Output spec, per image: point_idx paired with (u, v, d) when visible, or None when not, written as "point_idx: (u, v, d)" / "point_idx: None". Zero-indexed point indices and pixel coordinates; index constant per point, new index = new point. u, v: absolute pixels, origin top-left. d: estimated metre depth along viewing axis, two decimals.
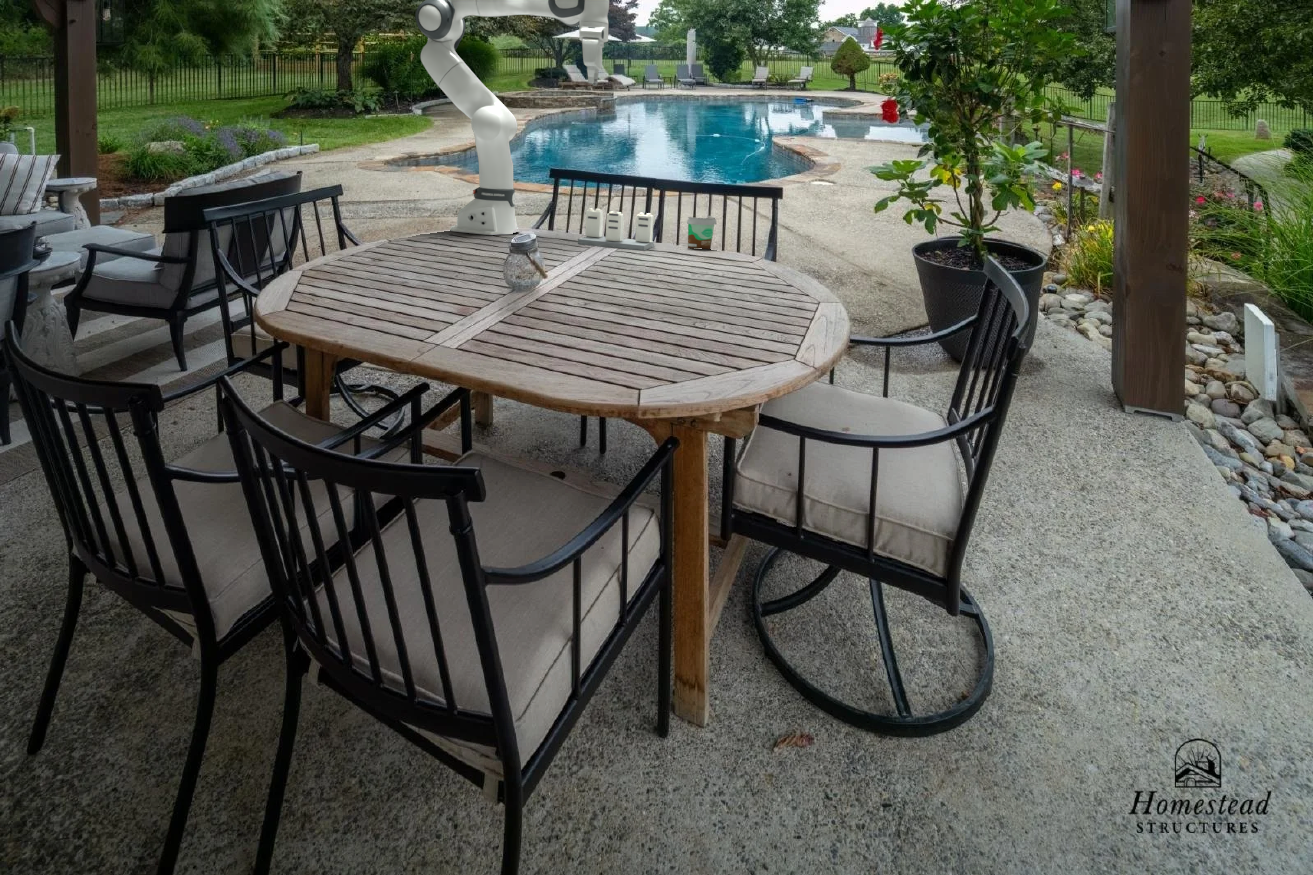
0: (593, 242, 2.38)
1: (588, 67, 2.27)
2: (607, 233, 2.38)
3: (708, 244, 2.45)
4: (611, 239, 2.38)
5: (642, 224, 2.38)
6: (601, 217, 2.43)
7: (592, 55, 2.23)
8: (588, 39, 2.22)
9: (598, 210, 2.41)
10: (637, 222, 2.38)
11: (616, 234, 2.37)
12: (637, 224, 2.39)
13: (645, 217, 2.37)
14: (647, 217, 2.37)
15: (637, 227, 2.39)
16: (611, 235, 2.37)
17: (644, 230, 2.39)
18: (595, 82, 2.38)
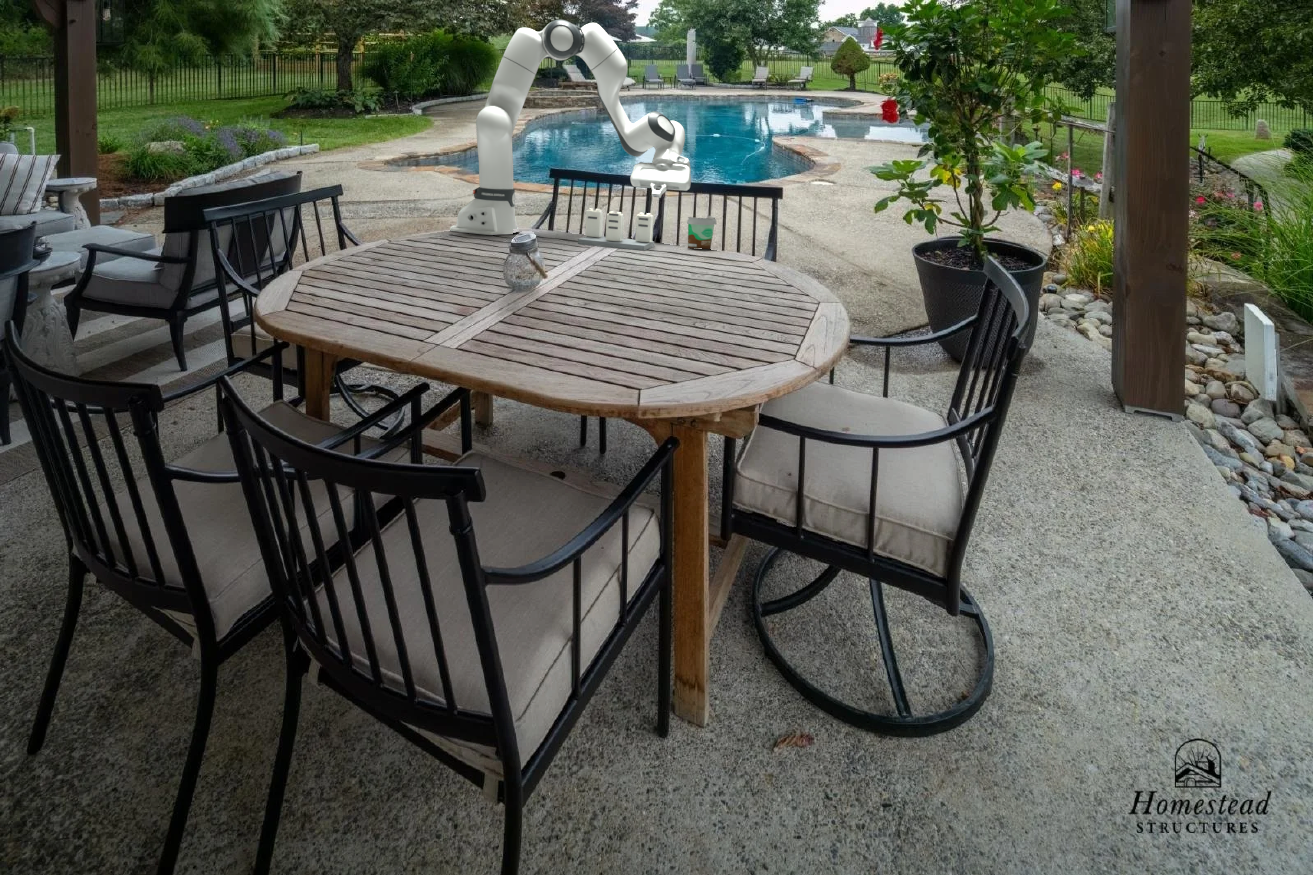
0: (593, 242, 2.38)
1: (666, 185, 2.48)
2: (607, 233, 2.38)
3: (708, 244, 2.45)
4: (611, 239, 2.38)
5: (642, 224, 2.38)
6: (601, 217, 2.43)
7: (690, 183, 2.49)
8: None
9: (598, 210, 2.41)
10: (637, 222, 2.38)
11: (616, 234, 2.37)
12: (637, 224, 2.39)
13: (645, 217, 2.37)
14: (647, 217, 2.37)
15: (637, 227, 2.39)
16: (611, 235, 2.37)
17: (644, 230, 2.39)
18: None
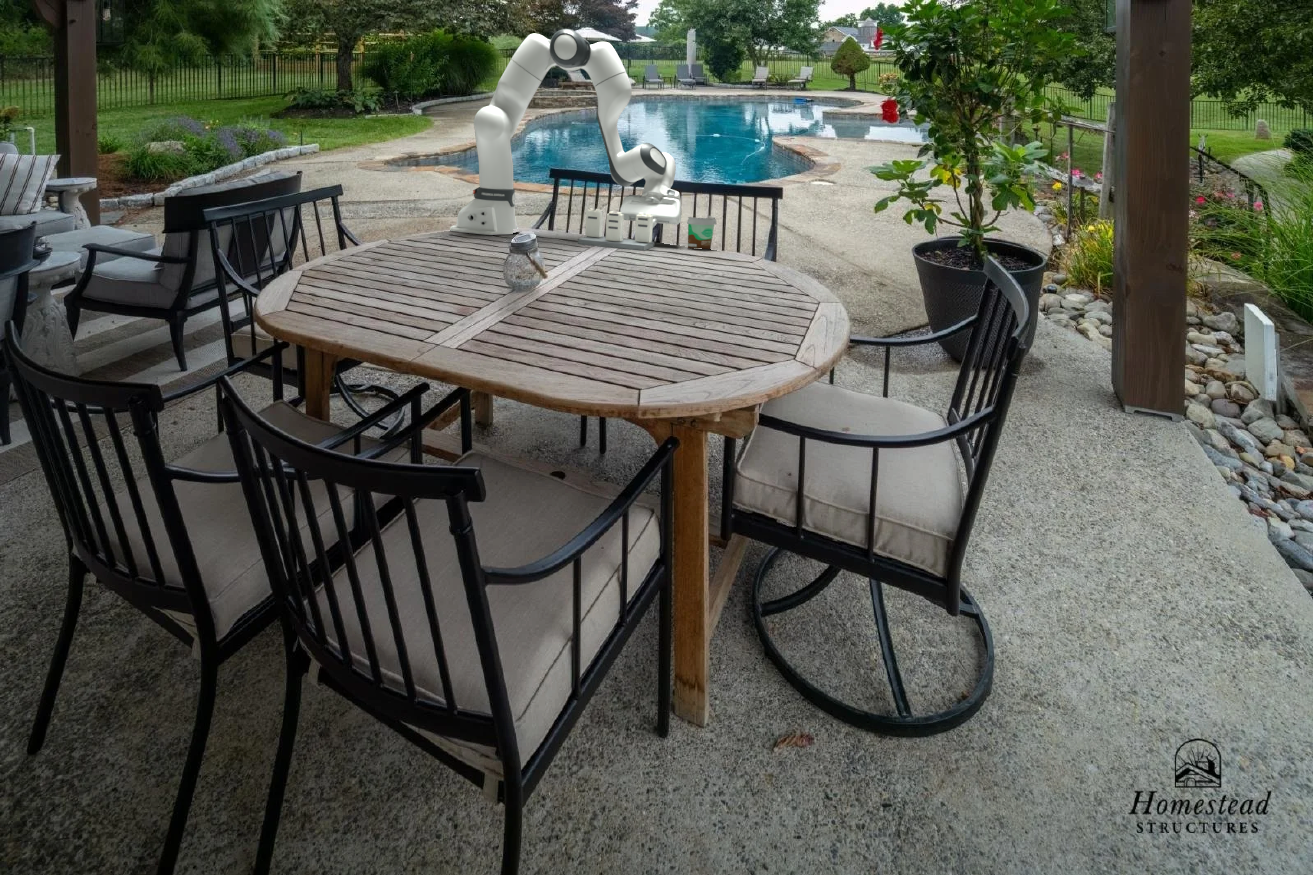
0: (593, 242, 2.38)
1: (655, 219, 2.42)
2: (607, 233, 2.38)
3: (708, 244, 2.45)
4: (611, 239, 2.38)
5: (641, 224, 2.38)
6: (601, 217, 2.43)
7: (680, 217, 2.43)
8: None
9: (598, 210, 2.41)
10: (637, 222, 2.38)
11: (616, 234, 2.37)
12: (637, 224, 2.38)
13: (645, 217, 2.37)
14: (647, 217, 2.37)
15: (636, 227, 2.39)
16: (611, 235, 2.37)
17: (643, 230, 2.38)
18: None
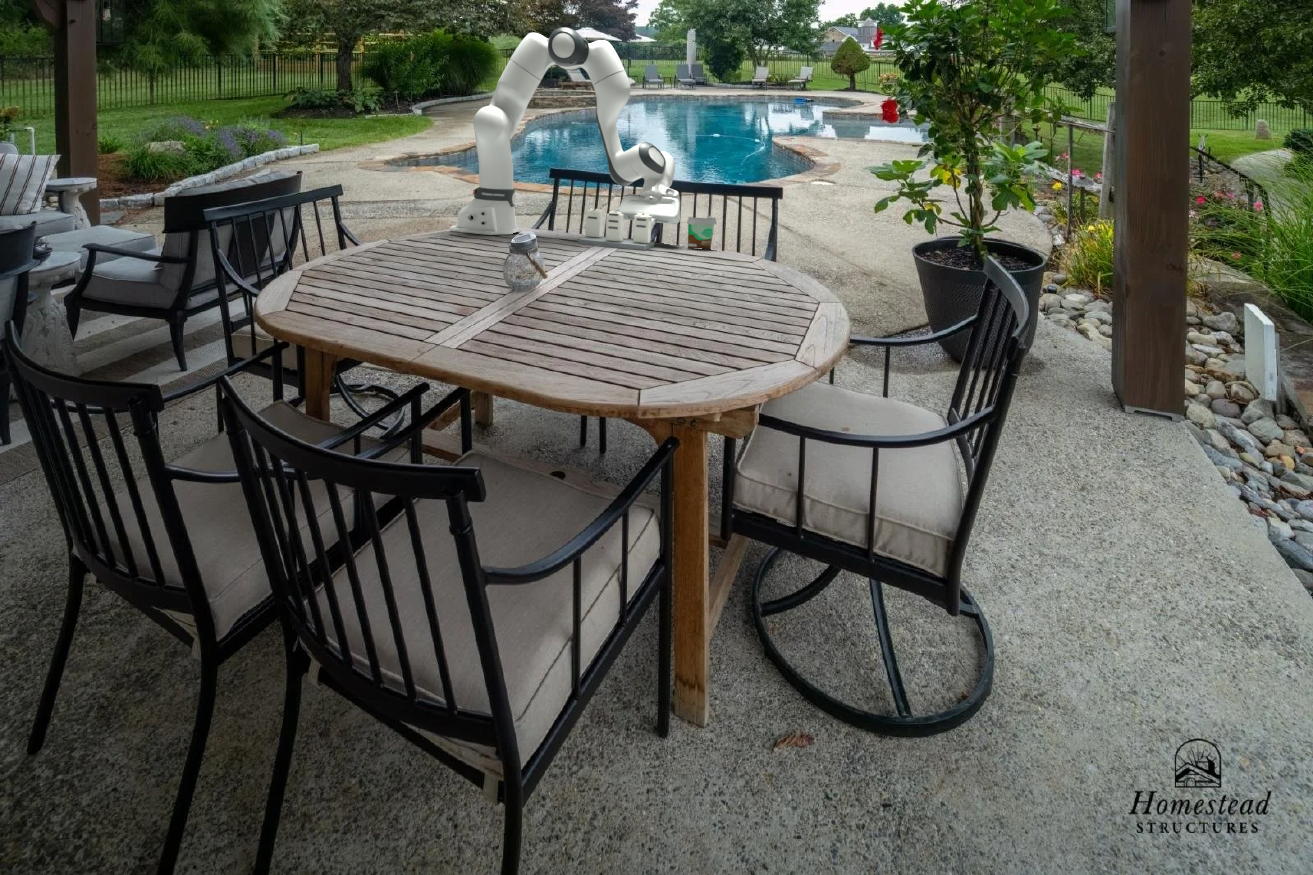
0: (593, 242, 2.38)
1: (654, 218, 2.41)
2: (607, 233, 2.38)
3: (708, 244, 2.45)
4: (611, 239, 2.38)
5: (640, 225, 2.36)
6: (601, 217, 2.43)
7: (679, 216, 2.42)
8: None
9: (598, 210, 2.41)
10: (635, 223, 2.36)
11: (616, 234, 2.37)
12: (635, 225, 2.36)
13: (643, 218, 2.35)
14: (645, 218, 2.35)
15: (635, 228, 2.37)
16: (611, 235, 2.37)
17: (641, 231, 2.37)
18: None
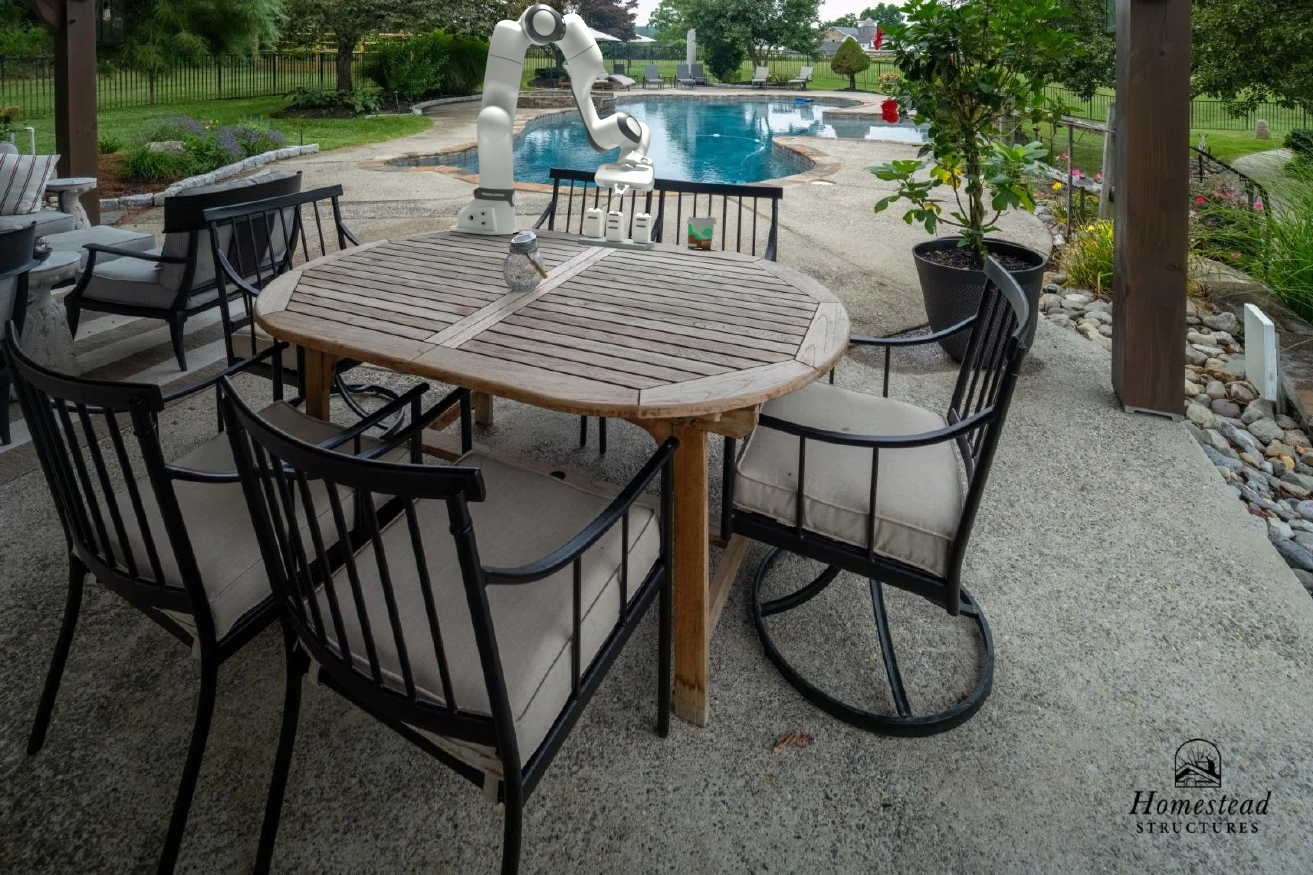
0: (593, 242, 2.38)
1: (629, 185, 2.51)
2: (607, 233, 2.38)
3: (708, 244, 2.45)
4: (611, 239, 2.38)
5: (640, 225, 2.36)
6: (601, 217, 2.43)
7: (653, 184, 2.52)
8: None
9: (598, 210, 2.41)
10: (635, 223, 2.36)
11: (616, 234, 2.37)
12: (635, 225, 2.36)
13: (643, 218, 2.35)
14: (645, 218, 2.35)
15: (635, 228, 2.37)
16: (611, 235, 2.37)
17: (641, 231, 2.37)
18: None
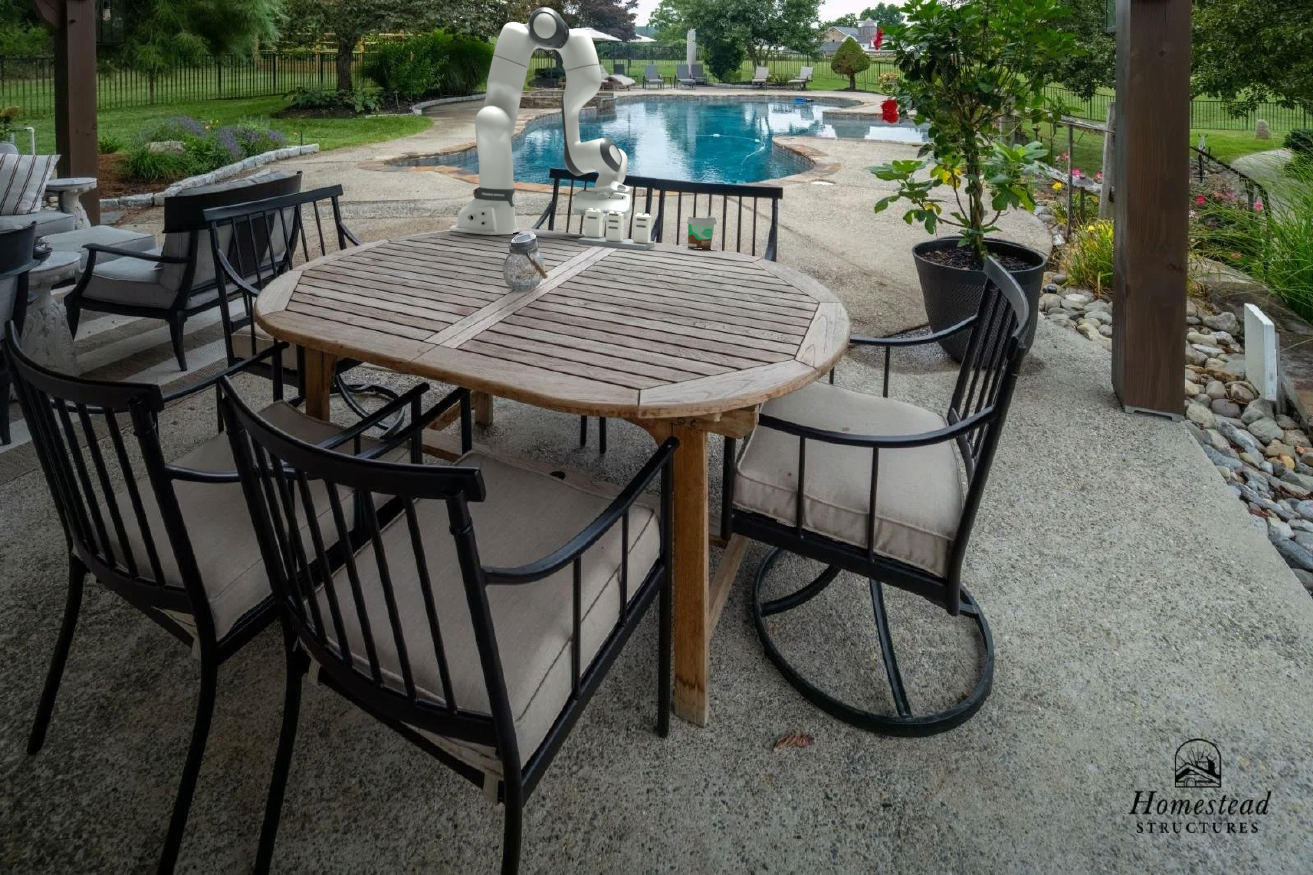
0: (593, 242, 2.38)
1: (606, 214, 2.46)
2: (607, 233, 2.38)
3: (708, 244, 2.45)
4: (611, 239, 2.38)
5: (640, 225, 2.36)
6: (601, 217, 2.42)
7: (631, 211, 2.47)
8: None
9: (598, 210, 2.41)
10: (635, 223, 2.36)
11: (616, 234, 2.37)
12: (635, 225, 2.36)
13: (643, 218, 2.35)
14: (645, 218, 2.35)
15: (635, 228, 2.37)
16: (611, 235, 2.37)
17: (641, 231, 2.37)
18: None
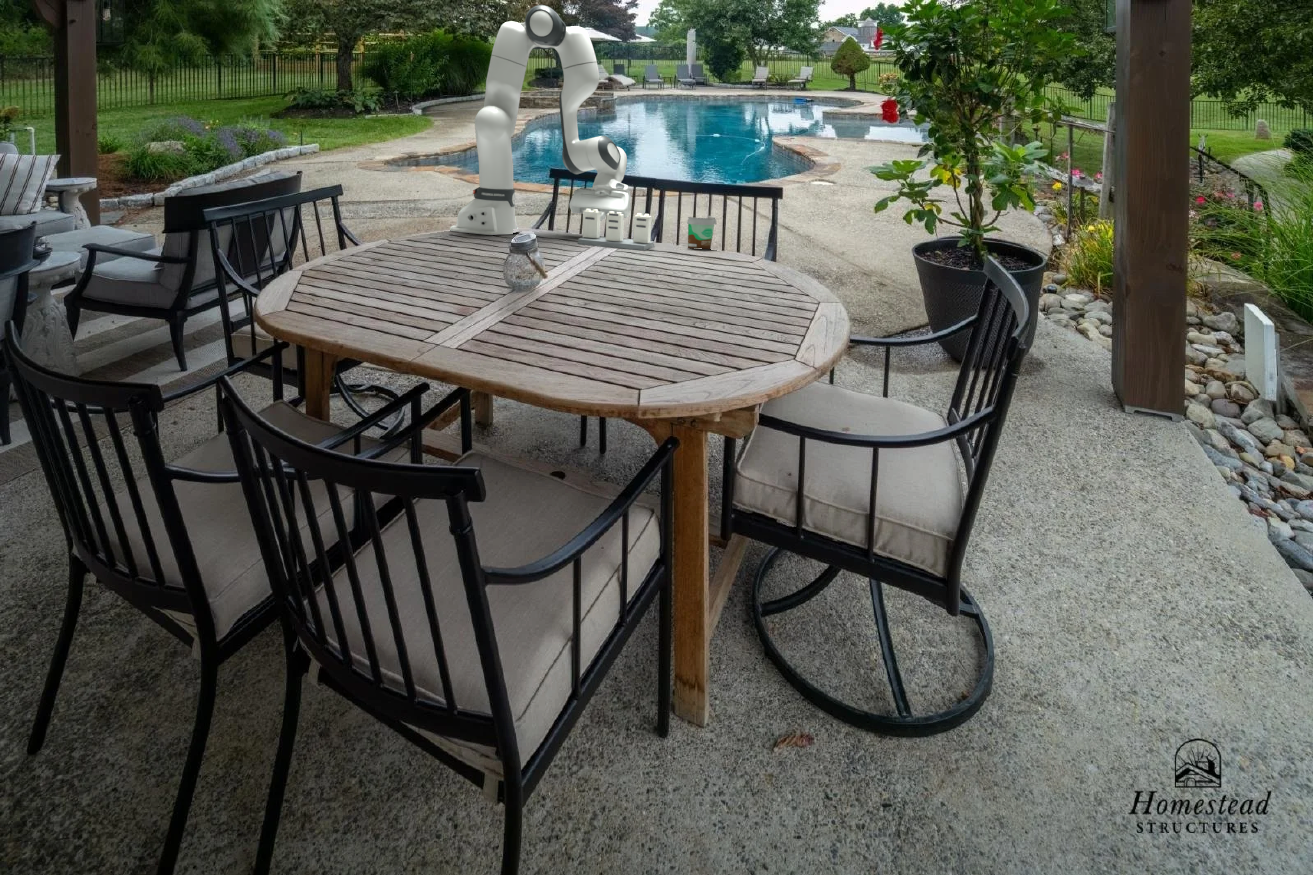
0: (593, 242, 2.38)
1: (604, 212, 2.45)
2: (607, 233, 2.38)
3: (708, 244, 2.45)
4: (611, 239, 2.38)
5: (640, 225, 2.36)
6: (598, 218, 2.40)
7: (629, 210, 2.46)
8: None
9: (595, 211, 2.39)
10: (635, 223, 2.36)
11: (616, 234, 2.37)
12: (635, 225, 2.36)
13: (643, 218, 2.35)
14: (645, 218, 2.35)
15: (635, 228, 2.37)
16: (611, 235, 2.37)
17: (641, 231, 2.37)
18: None
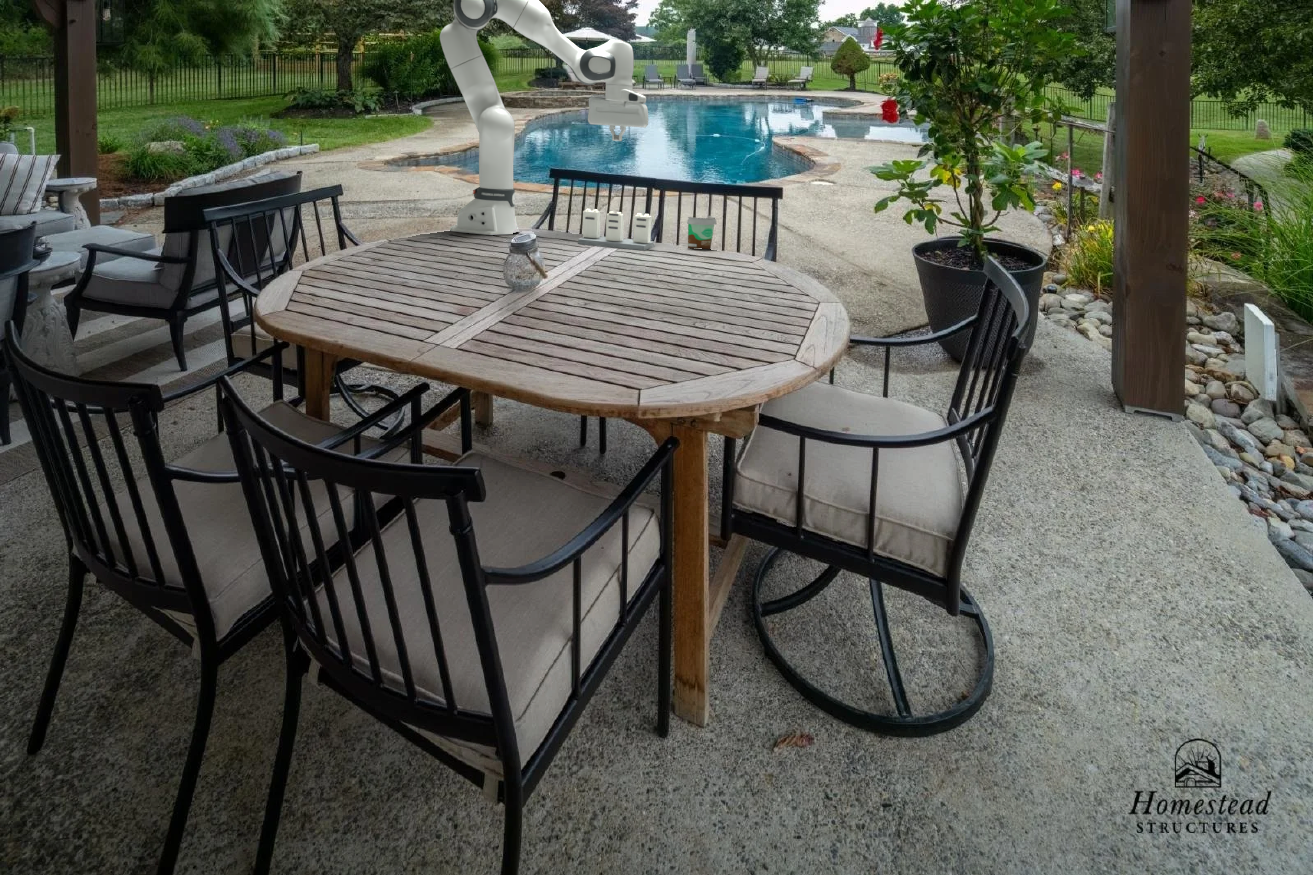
0: (593, 242, 2.38)
1: (624, 127, 2.49)
2: (607, 233, 2.38)
3: (708, 244, 2.45)
4: (611, 239, 2.38)
5: (640, 225, 2.36)
6: (598, 218, 2.40)
7: (647, 119, 2.47)
8: (643, 104, 2.45)
9: (595, 211, 2.39)
10: (635, 223, 2.36)
11: (616, 234, 2.37)
12: (635, 225, 2.36)
13: (643, 218, 2.35)
14: (645, 218, 2.35)
15: (635, 228, 2.37)
16: (611, 235, 2.37)
17: (641, 231, 2.37)
18: None
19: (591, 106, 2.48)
